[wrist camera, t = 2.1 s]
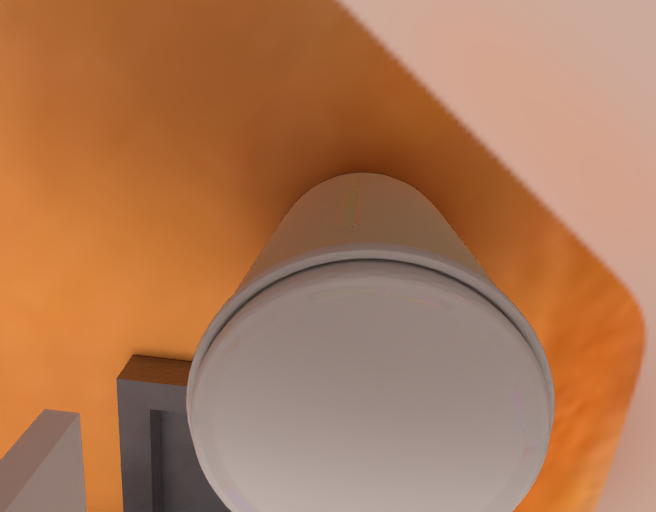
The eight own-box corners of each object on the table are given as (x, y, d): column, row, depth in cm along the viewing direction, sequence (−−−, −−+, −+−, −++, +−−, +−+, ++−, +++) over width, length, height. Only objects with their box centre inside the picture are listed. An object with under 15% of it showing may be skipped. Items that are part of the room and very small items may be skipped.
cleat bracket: (132, 355, 27) (116, 378, 25) (437, 389, 27) (443, 415, 25) (140, 553, 32) (127, 585, 30) (397, 582, 32) (399, 616, 30)
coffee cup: (411, 374, 27) (451, 616, 16) (230, 303, 26) (133, 508, 15) (508, 203, 23) (647, 356, 12) (303, 115, 22) (251, 194, 11)
